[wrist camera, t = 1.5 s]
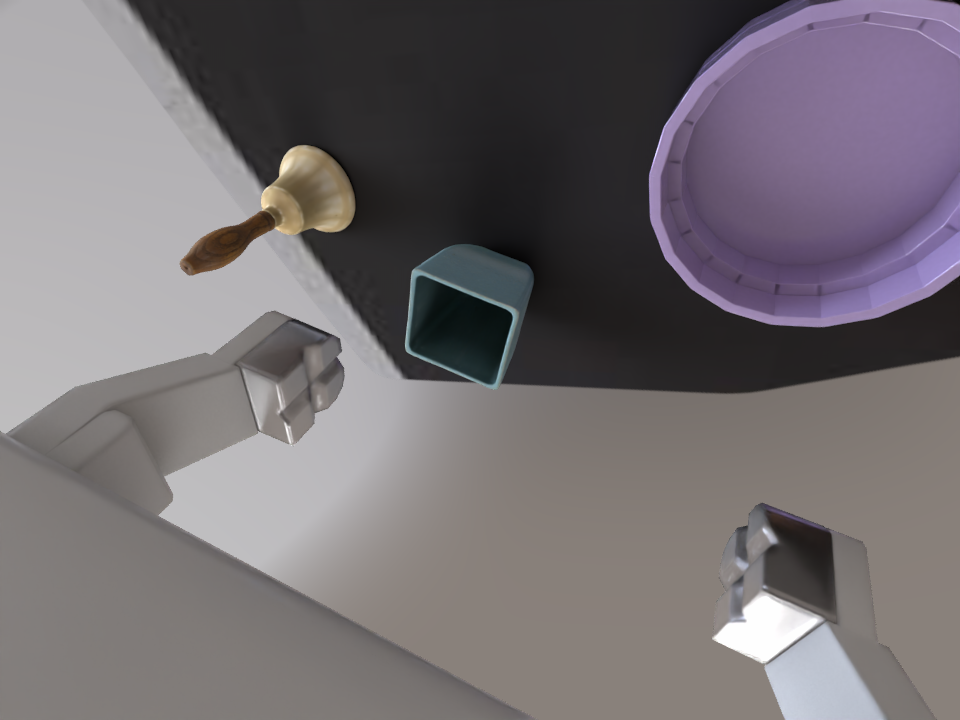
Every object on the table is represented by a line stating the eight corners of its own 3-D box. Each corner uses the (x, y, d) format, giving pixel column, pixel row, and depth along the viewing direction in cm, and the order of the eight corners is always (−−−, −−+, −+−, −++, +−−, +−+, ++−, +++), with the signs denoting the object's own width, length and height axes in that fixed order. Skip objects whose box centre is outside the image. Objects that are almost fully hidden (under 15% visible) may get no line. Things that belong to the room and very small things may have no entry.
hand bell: (274, 135, 49) (123, 204, 38) (352, 156, 47) (215, 235, 36) (289, 218, 55) (161, 299, 43) (359, 240, 52) (243, 331, 41)
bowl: (664, 17, 32) (644, 35, 28) (1068, -59, 24) (1125, -50, 20) (666, 277, 42) (652, 319, 38) (954, 282, 34) (976, 335, 30)
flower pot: (558, 253, 44) (520, 311, 38) (533, 332, 50) (497, 393, 44) (462, 217, 46) (411, 267, 40) (450, 297, 52) (403, 351, 46)
